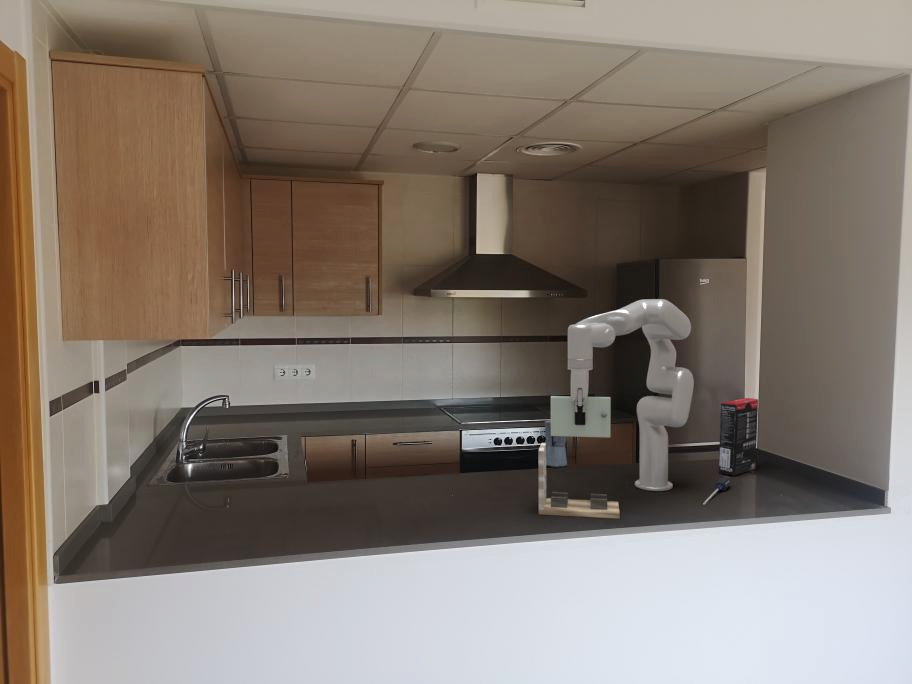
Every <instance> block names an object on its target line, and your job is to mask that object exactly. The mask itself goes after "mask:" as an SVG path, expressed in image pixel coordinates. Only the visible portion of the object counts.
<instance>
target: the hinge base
mask: <svg viewBox="0 0 912 684" xmlns="http://www.w3.org/2000/svg"><path fill="white" fill-rule="evenodd" d="M546 450H547V442H541V444H540V446H539V447H538V458H537V459H538V515H545V516H546V515H548V516H564V517H566V516H569V517H583V518H584V517H585V518H602V519H618V520H619V519H620V516H621V515H620V507H619V506H620V505H619V501H613V500H612V501H609V500H608V495H607V494H605V493H603V494H601V493H590V499H589V500H588V499H571V498H569V492H561V491H560V492H559V491H552V492H551V496H550V497H547V465H546Z"/></svg>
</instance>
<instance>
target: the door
mask: <svg viewBox="0 0 912 684" xmlns="http://www.w3.org/2000/svg"><path fill="white" fill-rule="evenodd" d="M611 400H612V399H611V396H587V401H586V402H585V425H575V412H576V403H575V402H576V399H575V401H573V402H571V395H570V396H567V395H566V396H561V395H560V396H559V395H558V396H557V395H551V396H550V420H551V436H567V437H580V438H586V437H587V438H611V417H612V416H611V413H612V411H611ZM577 402H578V400H577ZM582 402H583V400H582Z"/></svg>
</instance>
